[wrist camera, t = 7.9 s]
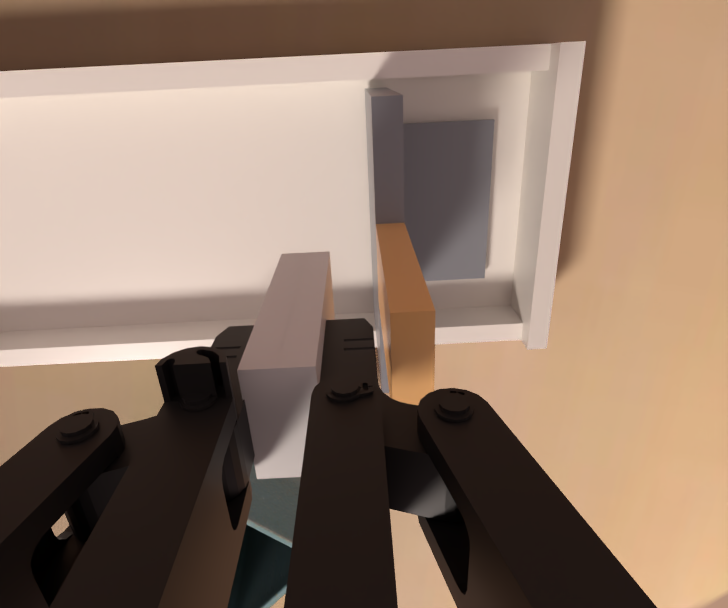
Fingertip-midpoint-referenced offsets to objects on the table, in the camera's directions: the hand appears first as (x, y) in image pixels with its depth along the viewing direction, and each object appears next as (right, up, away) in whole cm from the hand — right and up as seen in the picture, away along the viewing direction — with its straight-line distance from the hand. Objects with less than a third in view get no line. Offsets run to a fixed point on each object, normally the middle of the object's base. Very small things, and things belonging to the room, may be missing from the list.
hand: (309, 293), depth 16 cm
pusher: (+5, +5, +9) cm, 12 cm away
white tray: (-5, +5, +10) cm, 13 cm away
